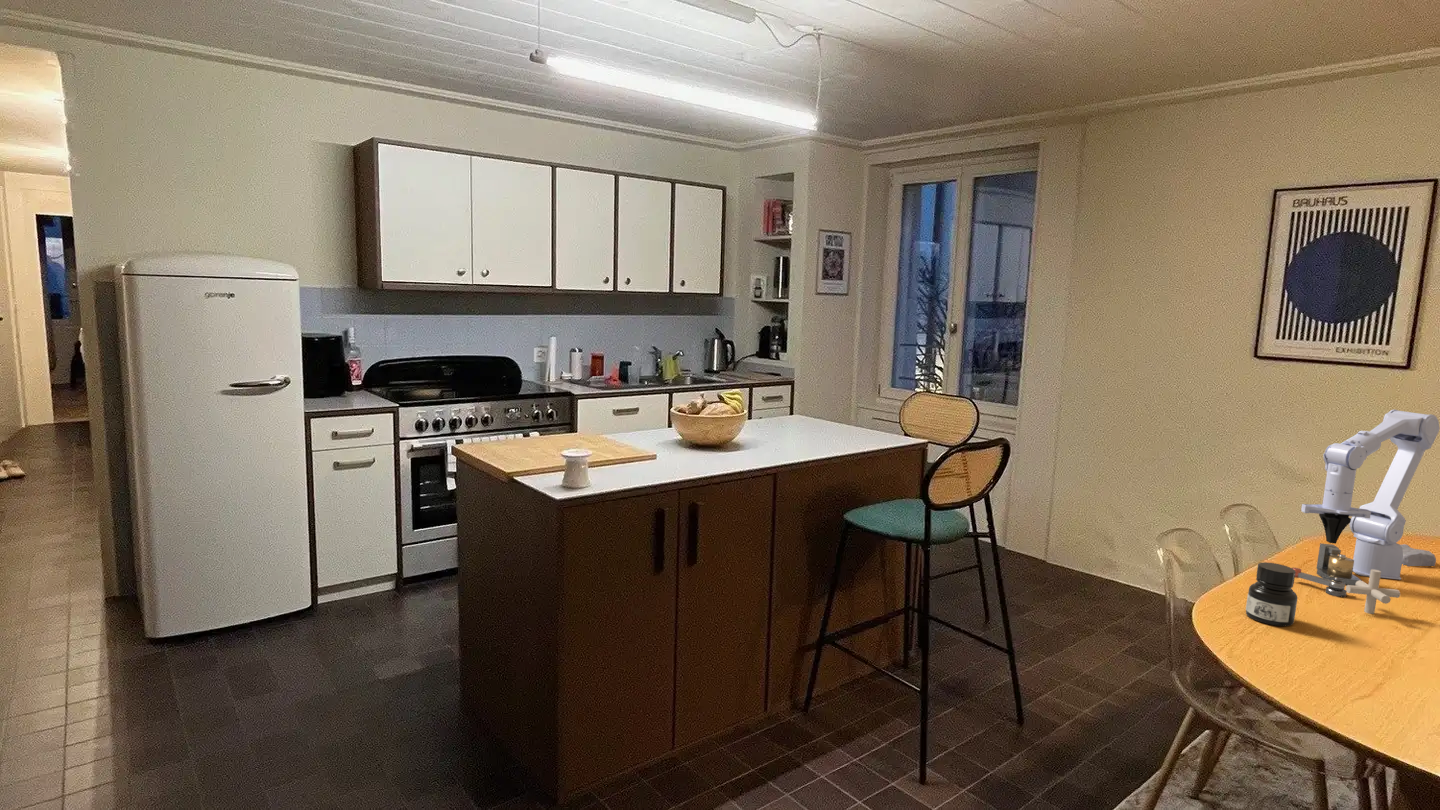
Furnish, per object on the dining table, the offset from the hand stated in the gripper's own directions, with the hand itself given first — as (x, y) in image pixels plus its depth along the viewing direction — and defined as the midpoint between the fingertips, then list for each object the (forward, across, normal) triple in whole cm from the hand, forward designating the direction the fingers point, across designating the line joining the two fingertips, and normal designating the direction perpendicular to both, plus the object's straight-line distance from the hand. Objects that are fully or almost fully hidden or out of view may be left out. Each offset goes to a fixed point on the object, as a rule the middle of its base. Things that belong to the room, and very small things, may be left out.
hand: (1331, 542), depth 203 cm
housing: (+8, +3, 0) cm, 9 cm away
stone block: (+10, +30, +26) cm, 41 cm away
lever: (+8, -6, -10) cm, 14 cm away
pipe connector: (+10, -2, -24) cm, 26 cm away
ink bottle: (+10, -27, -36) cm, 46 cm away
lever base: (+10, -3, -13) cm, 16 cm away
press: (+10, +3, +2) cm, 10 cm away
